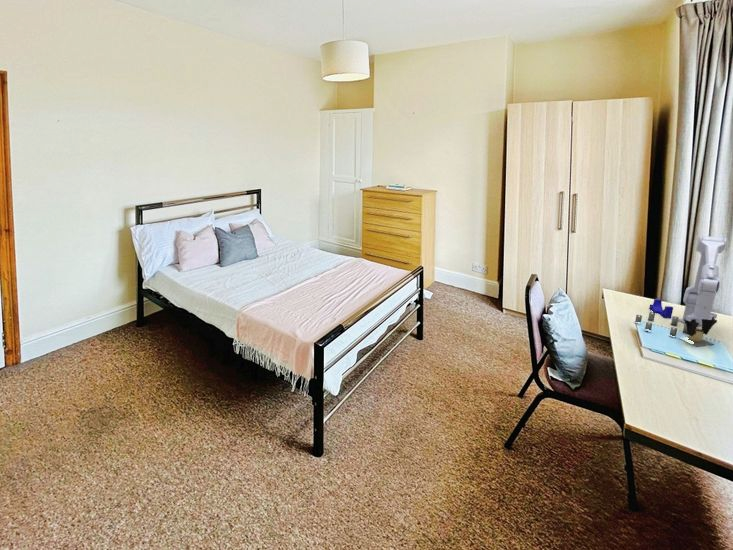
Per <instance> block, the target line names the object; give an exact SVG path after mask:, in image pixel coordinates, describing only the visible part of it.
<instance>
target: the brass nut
mask: <svg viewBox="0 0 733 550" xmlns="http://www.w3.org/2000/svg"><path fill="white" fill-rule="evenodd" d="M701 329H702V328H698V327H697V328H696V330H695V333H694V335H693V336H690V335H688V336H689V339H688V340H691V341H693V342H698V343H701V341H702V339H704V338H703V337H704V335H705V334H704V330H701Z"/></svg>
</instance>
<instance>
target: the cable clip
mask: <svg viewBox="0 0 733 550" xmlns="http://www.w3.org/2000/svg"><path fill="white" fill-rule="evenodd" d="M662 301H663V300H662V299H661V298H660V299H658V298H657V299H656V298H655V299H653V304H652V303H651V304H649V308H648V310H649V309H651V310H652V311H653V312H654V313H658V315H659V314H660V315H659V316H661V317H662V318H664V319H672V317H673V311H674V307H673V306H670V305H669V306H667V305H666V306H664V308H663V303H662ZM651 310H650V311H651ZM652 311H651V312H652Z"/></svg>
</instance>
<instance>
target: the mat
mask: <svg viewBox="0 0 733 550" xmlns="http://www.w3.org/2000/svg"><path fill="white" fill-rule="evenodd" d="M686 336H687V337H688V338H689V335H686ZM694 345H695V346H694ZM706 345H709V346H714V343H713V342H710V341H707V339H706V340H705V339H704V338H702V341H701V343H698V342H694V344H693V345H692V346H694V347H696V346H701V347H707V346H706Z"/></svg>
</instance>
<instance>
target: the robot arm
mask: <svg viewBox="0 0 733 550" xmlns="http://www.w3.org/2000/svg"><path fill="white" fill-rule="evenodd" d="M726 247H727V238H726V237H724V236H721V237H720V236H709V235H701V234H700V235H699V236H698V238H697V242H696V247H695V250H696V252H698V253H699V254H700V258H699V262H698V267H697V271H696V276H695V279H694V280H695V281H694V284H693V285H690V286H688V287H686V289H685V291H684V295H683V299H682V300H683V303H684V304H685V307H684V311H683V315H682V318H679V319H678V322H681V323H684V324H686V326H687V334H686V335H687V336H689V335H690V336H693V335H694V333H695V330H696V328H698V326H701V328H700V329H701V330H704V334H703V335H705V336H706V335H707V334H709V332H710V330H711V329H712V328H713V326H714V325H715V324H717V323H718V320H717V316H718V314H717V313H715V312H712V310H713V305H714V302H715V298H716V294H718V293H719V291H720V287H721V286H720V285H721V279H720V277H719V271H720V270H719V269H720V268H719V266H718V265H717V259H718V255H719V254H721V253H723V252H724V251H725V250H726Z"/></svg>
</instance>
